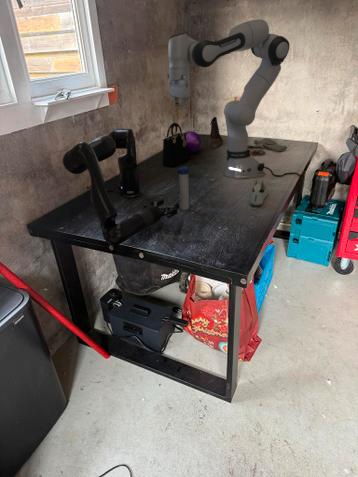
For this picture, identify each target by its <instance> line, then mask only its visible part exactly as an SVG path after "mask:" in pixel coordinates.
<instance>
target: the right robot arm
mask: <svg viewBox="0 0 358 477" xmlns="http://www.w3.org/2000/svg"><path fill="white" fill-rule="evenodd" d="M290 45H291V44H290V42H289V40H288V39H287V38H286V37H284V36H283V35H279V34H275V33H270V27H269V24H268V22H267V21H266V20H264V19H261V18H260V19H252V20H248V21H245V22H242V23H240V24H239V23H238V24H237V25H236V26H234V27H232V28H230V30H229V32H228V36H226V37H223V38H221V39H218V40H215V41H213V40H209V39H204V40H198V41H197V40H195V39H193V38H192V37H190V36H189V35H188V34H187V33H185V32H180V33H176V34H173V35H171V36H170V37H169V39H168V47H167V48H168V49H167V53H168V55H167V56H168V57H167V58H168V61H169V65H168V73H167V74H166V78H167V80H168V82H167V83H168V92H169V95H170V96H172V98H173V102H174V106H175V107H180V108H181V109H182V110H185V109H187V101H188V100H190V99H191V94H192V93H191V82H190V80H189V79H190V72H189V71H190V69H189V66H193V67H194V66H195V67H201V68H209V67H211V66H212V65H213V64H215V62H216V61H218V60H219V58H221V57H224V56H227V55H228V54H229V55H230V54H231V53H233V52H234V53H240V52H245V51H247V50H250V52H251V54H253V55H254V56H255V57H256V58H260V59H261V61H260V64H259V66H258V67H257V69H255V72H254V73H253V74H252V75H251V77H250V78H249V80H248V81H247V82H246V84H245V85H244V87H243V92H242V94H241V97H240V99H239V100H231V101H229V102H227V103H225V105H224V107H223V114H224V119H225V127H226V133H227V134H226V135H227V149H226V152H225V153H226V154H225V159H226V165H225V169H224V172H223V174H224V176H225V177H228V178H232V179H233V178H234V179H237V180H243V179H250V178H258V177H259V178H260V177H263V176H264V175H265V172H264V169H266V170H268V171H269V172H270V173H271V175H272V176H274V177H276V178H280V177H281V178H282V177H284V176H286V175H297V176H298V177H300V178H303V176H302V175H301V174H300V173H298V172H285V173H283V174H275V173H274V172H273V170H272V169H271V168H269V167H267V166H265V163H263V162H259V161H258V160H257V159H256V158H255V157H254V156H253V155H254V154H253V152H252V151H251V150H249V149H247V147H248V145H249V144H248V143H249V134H248V133H249V132H248V131H247V127H249V125H252V124H253V122H254V121H255V119H256V113H257V110H258V108H259V106H260V103H261V102H262V100H263V98H264V97H265V96H266V94H267V93H268V91H269V90H270V89H271V87H272V86H273V84H274V83H275V82H276V80H277V79H278V76H279V74H280V72H281V70H282V65H281V64H283V63H284V61H285V59H286V58H287V57H288V54H289V51H290V47H291V46H290ZM179 99H180V100H181V104H180V102H179Z"/></svg>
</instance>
